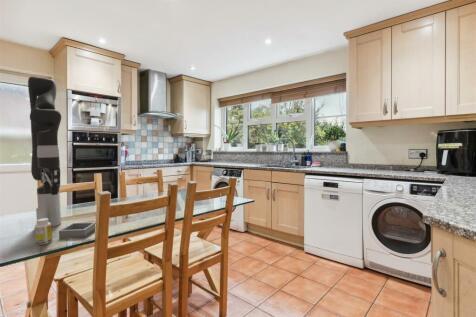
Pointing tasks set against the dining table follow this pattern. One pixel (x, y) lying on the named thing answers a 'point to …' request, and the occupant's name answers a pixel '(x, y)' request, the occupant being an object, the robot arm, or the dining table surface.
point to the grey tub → (77, 230)
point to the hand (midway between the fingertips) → (50, 193)
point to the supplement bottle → (43, 231)
